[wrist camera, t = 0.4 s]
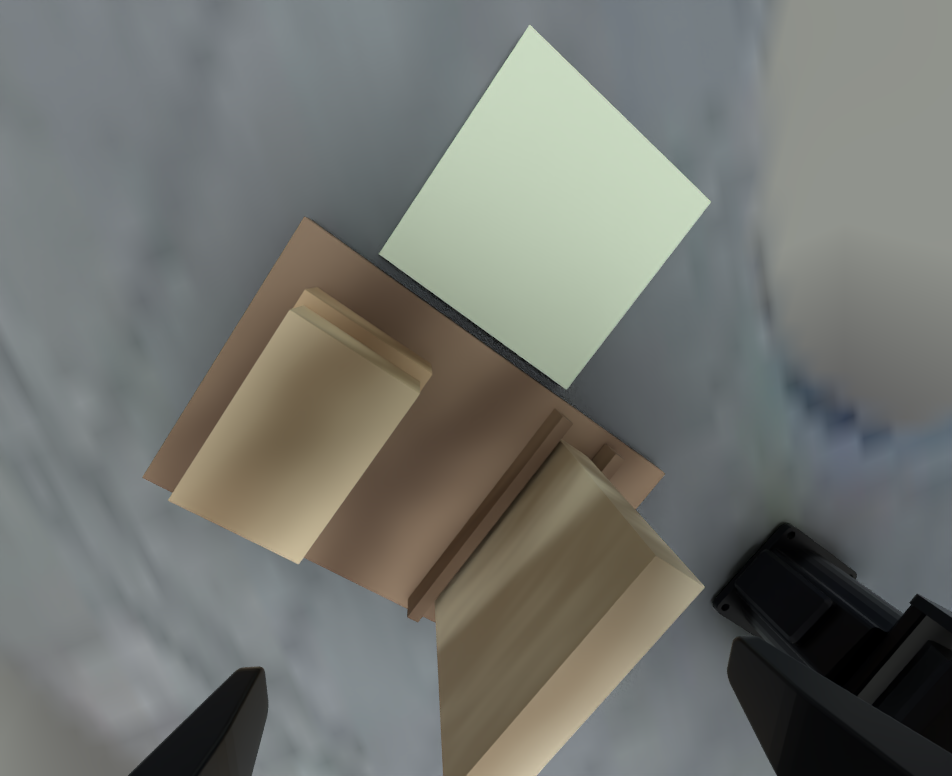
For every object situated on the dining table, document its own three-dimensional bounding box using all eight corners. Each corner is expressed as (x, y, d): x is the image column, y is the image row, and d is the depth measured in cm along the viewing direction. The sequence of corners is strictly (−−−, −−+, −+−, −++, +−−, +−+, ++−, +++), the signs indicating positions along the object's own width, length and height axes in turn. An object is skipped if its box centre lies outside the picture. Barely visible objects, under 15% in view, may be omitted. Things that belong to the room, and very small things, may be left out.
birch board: (587, 456, 21) (705, 587, 12) (466, 608, 22) (496, 820, 14) (556, 435, 21) (656, 555, 12) (434, 591, 22) (444, 800, 13)
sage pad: (696, 205, 20) (711, 201, 19) (559, 384, 21) (566, 389, 20) (523, 38, 17) (529, 24, 16) (380, 254, 18) (378, 254, 17)
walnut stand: (655, 465, 23) (679, 485, 21) (506, 644, 25) (514, 679, 22) (310, 219, 18) (296, 212, 16) (155, 467, 20) (123, 491, 17)
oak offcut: (431, 363, 19) (432, 374, 17) (319, 521, 20) (308, 548, 18) (317, 287, 18) (305, 289, 16) (205, 461, 19) (180, 483, 17)
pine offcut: (419, 381, 17) (419, 394, 15) (310, 536, 18) (298, 564, 16) (303, 305, 16) (289, 309, 14) (193, 476, 17) (167, 500, 15)
